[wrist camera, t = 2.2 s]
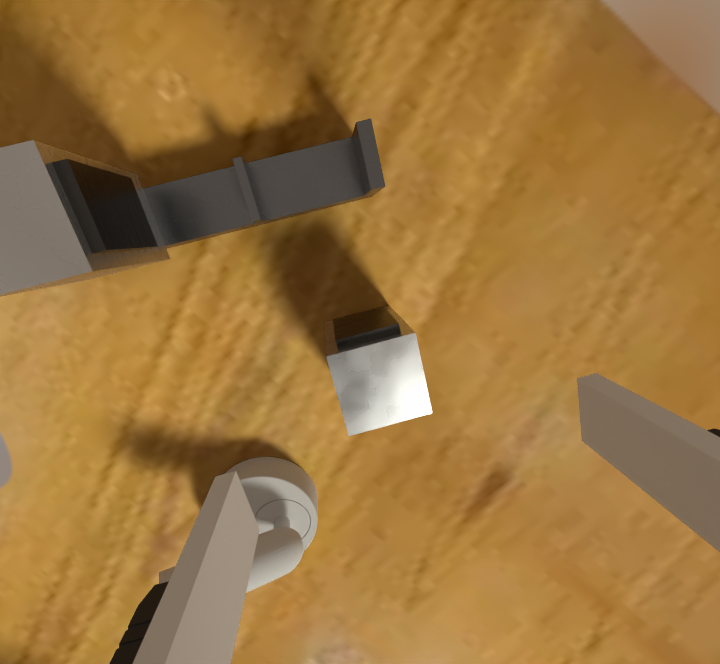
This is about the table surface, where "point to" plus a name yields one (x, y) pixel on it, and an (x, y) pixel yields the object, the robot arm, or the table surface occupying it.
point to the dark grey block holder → (156, 206)
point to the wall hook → (275, 516)
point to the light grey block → (376, 369)
